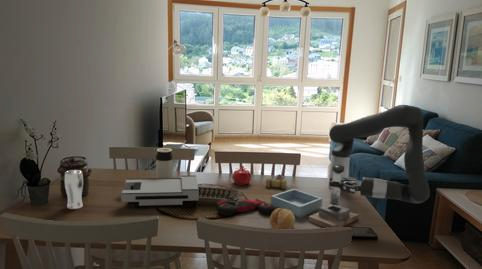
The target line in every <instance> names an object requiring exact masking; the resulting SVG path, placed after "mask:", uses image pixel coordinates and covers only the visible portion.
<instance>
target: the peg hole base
mask: <svg viewBox="0 0 482 269" xmlns="http://www.w3.org/2000/svg"><path fill="white" fill-rule="evenodd" d="M358 218H359V214H357V213H355V212H352V211H351V209H350V208H347V207H344V206H341V205H340V204H339V205H332V204H330V203H328V204H325V205H322V207H320V208H319V210H318V211H317V212H315V213H312V215H311V214H310V215H309V216H308V221H309V222H311V223H313V224H316V225H318V226H321V227H323V228H326V229H328V228H327V227H341V228H342V227H345V226H347V225H348V224H351V223H353V222H355V221H357V220H358Z"/></svg>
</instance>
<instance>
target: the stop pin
mask: <svg viewBox="0 0 482 269" xmlns="http://www.w3.org/2000/svg"><path fill="white" fill-rule="evenodd" d="M344 168H345V167H344V166H342V165H333V166H332V170H333V180H332V181H336V182H342V172H344ZM330 191H331V193H330V201H329V202H330V203H329V204H332V205H339V206H340V198H341V191H342V190H340V189H339V187H332V188H331V190H330Z"/></svg>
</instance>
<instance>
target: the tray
mask: <svg viewBox="0 0 482 269" xmlns="http://www.w3.org/2000/svg"><path fill="white" fill-rule="evenodd" d="M270 204H272V205H273V206H274V207H275V209H277V208H283V209H288V210H290V211H292V213H293V214H294V216H295V218H297V219H301V218H304V217H306V216H308V215H309V216H310V215H311V214H314V213H317V212H319V208H320V207H323V198H322V197H320V196H317V195H313V194H310V193H308V192H304V191H302V190H300V189H296V188H292V189H288V190H285V191H283V192H279V193H276V194H273V195H271V196H270Z"/></svg>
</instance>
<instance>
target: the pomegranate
mask: <svg viewBox="0 0 482 269" xmlns="http://www.w3.org/2000/svg"><path fill="white" fill-rule="evenodd" d="M244 167H245V166H244V165H241V167H238V168H236V169H235V170H234V171H233V173H232V175H231V178H232V181H233V183H235V184H236V185H239V186H245V185H248V184H250V182H251V180H252V175H251V172H250V171H249V170H248V167H245V168H244Z"/></svg>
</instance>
